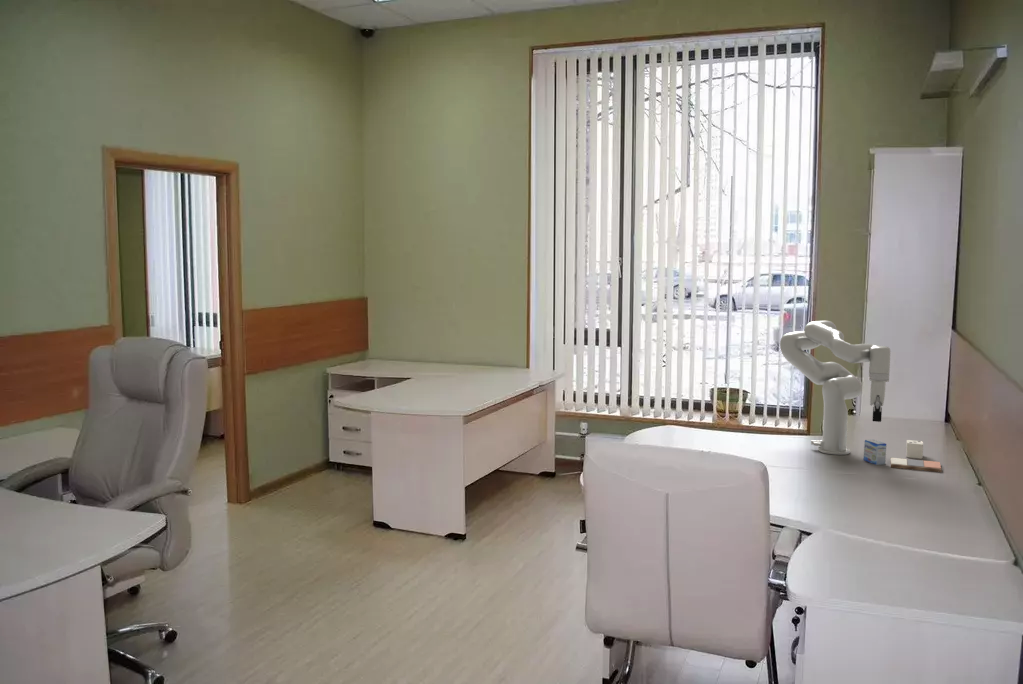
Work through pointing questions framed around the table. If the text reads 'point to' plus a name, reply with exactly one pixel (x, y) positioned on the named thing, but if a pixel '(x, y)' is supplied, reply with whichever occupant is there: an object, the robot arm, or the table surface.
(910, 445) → the die
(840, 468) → the table surface
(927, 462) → the striped colour swatch board
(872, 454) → the medicine box
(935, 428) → the table surface
